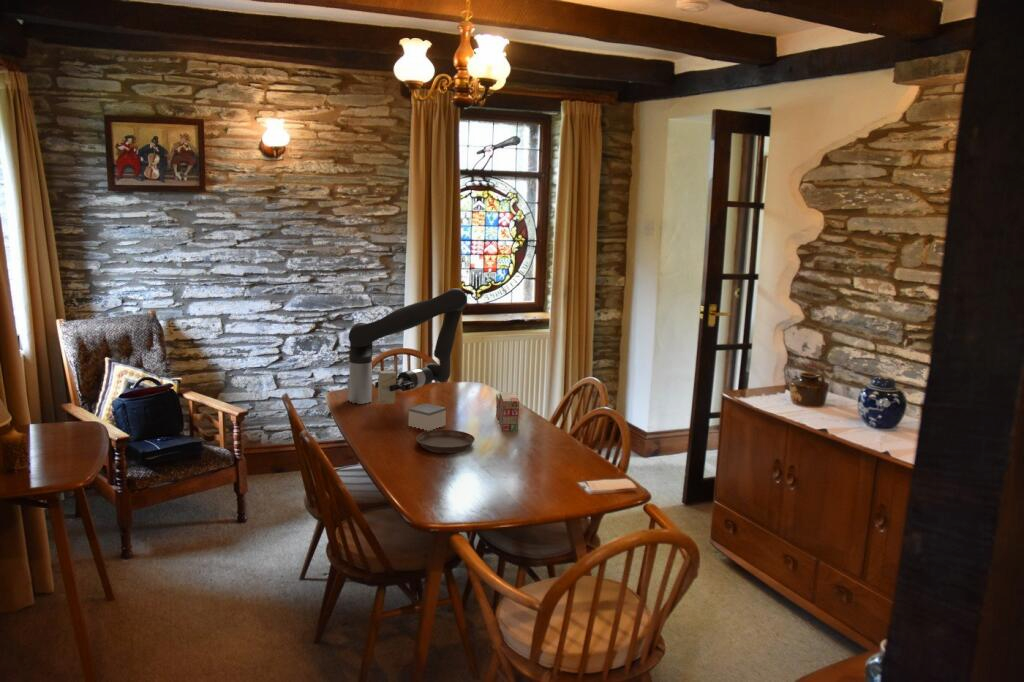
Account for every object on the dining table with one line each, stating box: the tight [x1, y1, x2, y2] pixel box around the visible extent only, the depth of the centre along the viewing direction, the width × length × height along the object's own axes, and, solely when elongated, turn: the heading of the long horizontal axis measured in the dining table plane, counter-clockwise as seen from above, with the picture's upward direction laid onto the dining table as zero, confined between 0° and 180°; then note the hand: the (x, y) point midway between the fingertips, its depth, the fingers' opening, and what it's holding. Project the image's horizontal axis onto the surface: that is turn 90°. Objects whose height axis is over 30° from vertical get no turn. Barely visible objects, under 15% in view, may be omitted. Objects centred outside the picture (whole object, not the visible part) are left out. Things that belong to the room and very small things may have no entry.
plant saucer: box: [415, 429, 476, 454], centre depth 275 cm, size 21×21×3 cm
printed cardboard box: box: [495, 391, 520, 432], centre depth 304 cm, size 21×6×12 cm, turn 8°
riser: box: [408, 402, 447, 431], centre depth 297 cm, size 10×10×7 cm
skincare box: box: [377, 370, 397, 405], centre depth 298 cm, size 6×4×12 cm
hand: (382, 387), depth 296 cm, fingers closed on skincare box, 7 cm apart
